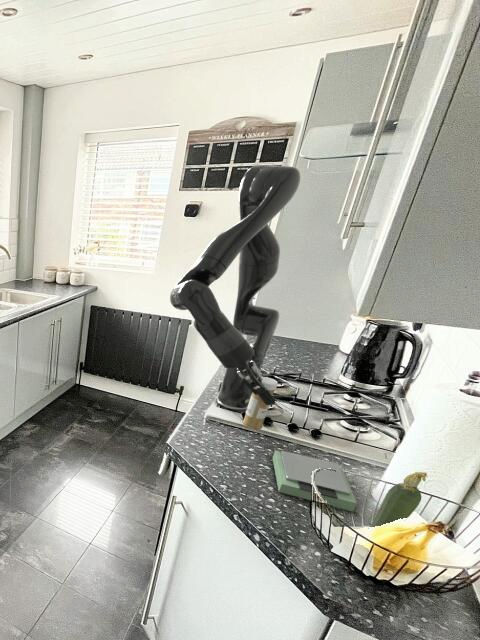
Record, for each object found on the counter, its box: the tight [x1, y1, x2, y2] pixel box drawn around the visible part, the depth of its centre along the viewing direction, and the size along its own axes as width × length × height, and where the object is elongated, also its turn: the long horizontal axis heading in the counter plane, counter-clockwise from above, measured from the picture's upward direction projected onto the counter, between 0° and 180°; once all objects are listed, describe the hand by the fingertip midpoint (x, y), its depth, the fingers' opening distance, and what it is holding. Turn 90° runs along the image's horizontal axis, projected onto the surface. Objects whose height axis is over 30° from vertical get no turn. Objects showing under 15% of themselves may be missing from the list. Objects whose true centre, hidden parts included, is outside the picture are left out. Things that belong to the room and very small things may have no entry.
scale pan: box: [279, 450, 350, 496], centre depth 104 cm, size 13×12×1 cm
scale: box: [272, 450, 358, 512], centre depth 103 cm, size 16×14×3 cm
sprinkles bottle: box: [241, 376, 279, 430], centre depth 108 cm, size 5×5×14 cm
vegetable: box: [368, 471, 429, 528], centre depth 80 cm, size 4×4×20 cm
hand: (270, 398), depth 107 cm, fingers closed on sprinkles bottle, 4 cm apart
